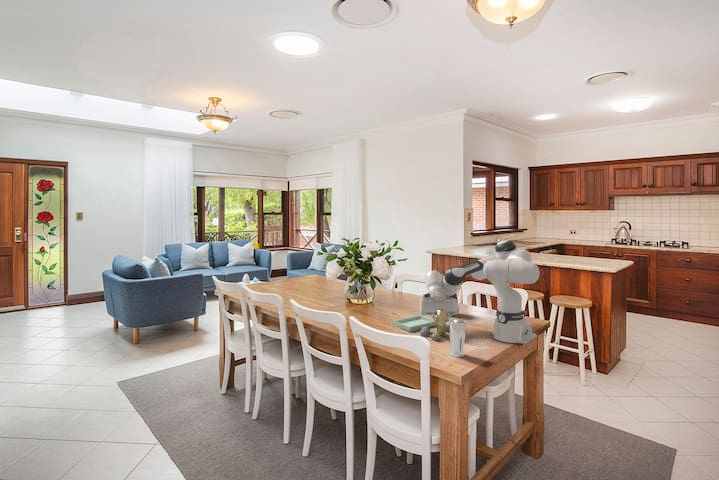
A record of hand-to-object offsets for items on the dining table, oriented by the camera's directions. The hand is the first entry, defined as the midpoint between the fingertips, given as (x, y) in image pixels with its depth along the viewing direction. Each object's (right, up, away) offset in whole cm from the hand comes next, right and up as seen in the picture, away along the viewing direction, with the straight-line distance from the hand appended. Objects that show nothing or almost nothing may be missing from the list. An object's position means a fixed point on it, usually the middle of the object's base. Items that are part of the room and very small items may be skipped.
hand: (441, 321), depth 192 cm
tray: (-11, -6, +18) cm, 22 cm away
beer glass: (+1, -10, -24) cm, 26 cm away
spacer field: (0, -7, +1) cm, 7 cm away
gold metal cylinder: (0, -7, +1) cm, 7 cm away
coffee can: (+12, -4, +41) cm, 42 cm away
